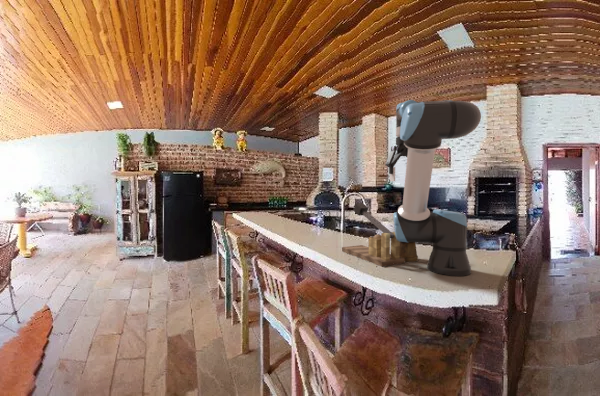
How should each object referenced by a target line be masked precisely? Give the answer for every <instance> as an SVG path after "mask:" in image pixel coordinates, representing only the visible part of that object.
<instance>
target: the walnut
mask: <svg viewBox="0 0 600 396" xmlns="http://www.w3.org/2000/svg"><path fill="white" fill-rule="evenodd" d="M373 237H374V238H373V239H381V234H374V236H373Z"/></svg>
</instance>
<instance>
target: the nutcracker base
mask: <svg viewBox="0 0 600 396" xmlns="http://www.w3.org/2000/svg"><path fill="white" fill-rule="evenodd" d="M391 232H392V233H393V234H394V238H390V234H388V233H383V232H381V234H380V235H381V239H373V238H374V236H371V237H368V246H366V245H362V244H361V245H359V244H358V245H352V246H342V247H341V252H343V253H345V254H349V255H351V256H353V257H356V258H358V259H362V260H364V261H367V262H369V263H372V264H373V265H377V266H379V267H388V266H396V265H402V264H405V263H406V261H405V259H404V258H401V257H399V250H400V241H398V240H397V239H396V236H395V231H391Z"/></svg>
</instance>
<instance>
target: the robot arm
mask: <svg viewBox="0 0 600 396" xmlns="http://www.w3.org/2000/svg"><path fill="white" fill-rule="evenodd" d="M395 109H396V111H395V113H396V117H395V118H396V119H395V120H396V124H395V125H396V127H395V128H396V129H395V136H396V138H395V146H394V145H392V146H391V147H390V152H389V155H388V157H387V160H386V162H385V164H384V165H385V166H386V167H387V168H388V174H389V182H395V181H396V167H395V165H396V164H397V163H398V161H399V159H400V158H401V157H405V158H406V167H405V175H404V176H405V178H404V187H403V197H402V198H403V199H402V204H401V205H400V206H398V208H397V211H396V212H394V213H393V214H392V215H393V217H392V218H393V226H394V227H393V228H394V232H395V236H396V239H397V240H398V241H400V242H407V243H408V242H416V243H423V244H424V243H426V244H432V250H431V252H430V255H429V259H428V261H427V264H426V265H427V266H426V268H427V270H429V271H430V272H433V273H435V274H440V275H444V276H455V277H459V276H460V277H461V276H462V277H464V276H468V275H471V273H472V266H471V265H470V260H469V257H468V254H467V234H468V233H467V230H468V229H467V228H468V223H467V222H468V221H467V215H466V214H465V213H463V212H458V211H452V210H445V209H437V208H434V209H433V210H432V212H431V211H430V209H429V208H428V201H429V195H430V187H431V181H432V175H433V167H434V166H433V165H434V162H435V161H434V158H435V154H436V150H437V149H439V148H440V147H441V146H442V141H443V140H450V139H459V138H462V137H465V136H467V135H470V134H471V133H472V132H474V131H475V130H476V129H477V127H479V124H480V122H481V118H482V114H481V113H482V112H481V111H480V108H479V106H477V105H476V104H474V103H472V102H468V101H464V100H452V99H451V100H448V99H447V100H446V99H444V100H434V101H433V100H431V101H426V100H425V101H415V100H413V99H409V100H406V101H404V102H400V103H398V104H397V105H396V108H395Z"/></svg>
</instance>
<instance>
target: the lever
mask: <svg viewBox="0 0 600 396" xmlns="http://www.w3.org/2000/svg"><path fill="white" fill-rule="evenodd" d="M368 210H369V207H368V206H367V205H365V204H364V203H363V202H355V203H354V206H353V209H352V211H353V212H354V213H355V214H356V215H358V216H360V217H361V216H363V217H365V218H366V219H367V220H368V221H369V222H370V223H372V225H374V226H375V227H376V228H377V229H379V231H381V233H388V234H390V239H391V238H394V234H393V233H392V232H393V231H391V230H390V229H388V228H387V227H386V226H385V225H383V223H381V221H379V220H378V219H376V218H375V217H374V216H373V215H372V214H371V213H370V212H369V211H368Z"/></svg>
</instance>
